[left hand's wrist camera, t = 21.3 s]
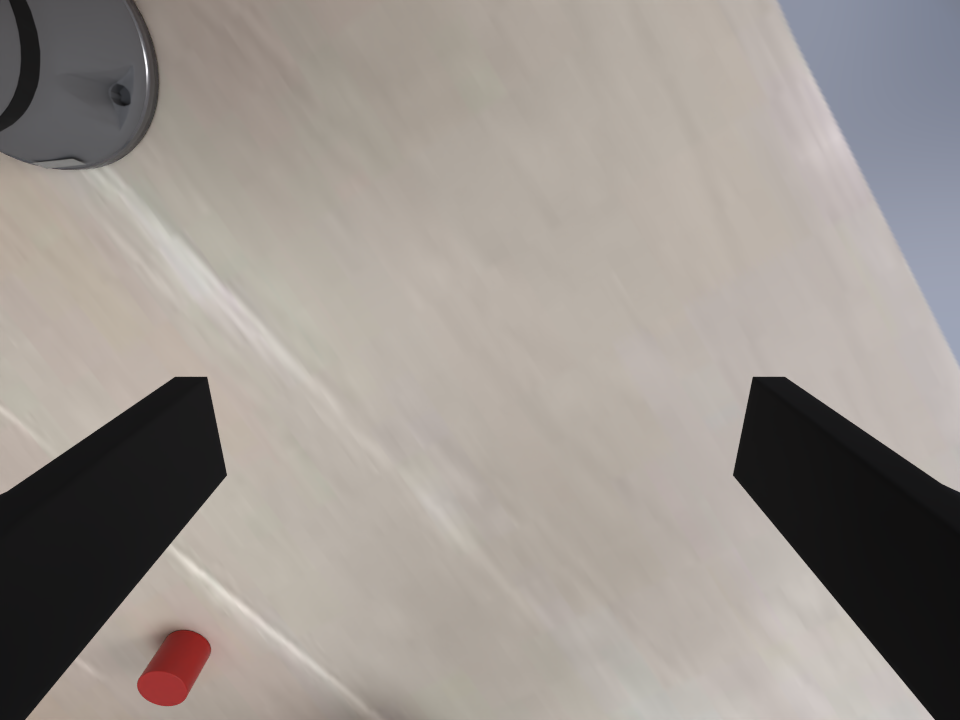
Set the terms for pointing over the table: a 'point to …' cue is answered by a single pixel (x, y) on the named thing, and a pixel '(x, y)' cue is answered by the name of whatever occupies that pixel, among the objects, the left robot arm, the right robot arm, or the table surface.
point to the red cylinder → (174, 668)
